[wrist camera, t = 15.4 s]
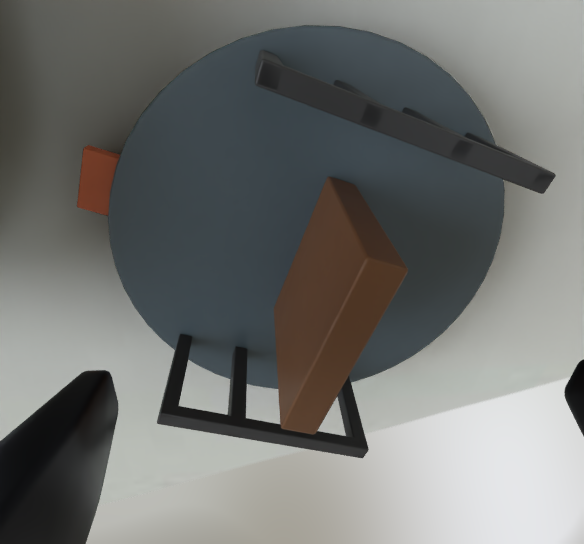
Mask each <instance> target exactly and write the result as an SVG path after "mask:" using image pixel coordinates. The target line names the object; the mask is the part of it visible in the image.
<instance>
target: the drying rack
mask: <svg viewBox="0 0 584 544" xmlns="http://www.w3.org/2000/svg"><path fill="white" fill-rule="evenodd" d="M555 176H556V175H555V174H554V173H552V172H550V171H548V170H546V169H544V168H542V167H540V166H538V165H536V164H534V163H532V162H530V161H528V160H526V159H524V158H522V157H520V156H518V155H515V154H513V153H511V152H509V151H507V150H505V149H503V148H501V147H499V146H497V145H496V144H495V141H494V139H493V136H492V134H491V132H490V130H489V128H488V125H487V123H486V121H485V119H484V117H483V115H482V114H481V112H480V111H479V109H478V108H477V106H476V105H475V103H474V102H473V100H472V99H471V97H470V96H469V95H468V94H467V92H466V91H465V90H464V89H463V88H462V87H461V86H460V85H459V84H458V83H457V82H456V81H455V80H454V78H453V77H452V76H451V75H450V74H448V73H447V72H446V71H445V70H443V69H442V68H441V67H439V66H438V65H437V64H436V63H434V62H433V61H432V60H430V59H429V58H428V57H426V56H424V55H423V54H421V53H419V52H417V51H415V50H413V49H412V48H410V47H408V46H406V45H404V44H402V43H400V42H398V41H395V40H392V39H389V38H386V37H383V36H381V35H378V34H375V33H372V32H368V31H362V30H357V29H351V28H346V27H340V26H309V25H304V26H296V27H288V28H280V29H273V30H269V31H265V32H262V33H258V34H255V35H251V36H248V37H245V38H241V39H239V40H237V41H235V42H233V43H230V44H228V45H226V46H224V47H222V48H219V49H217V50H215V51H213V52H211V53H209V54H208V55H206V56H205V57H203V58H202V59H200V60H199V61H197V62H196V63H194V64H193V65H191V66H190V67H188V68H187V69H185V70H184V71H183V72H181V73H180V74H179V75H178V76H177V77H176V78H175V79H174V80H173V81H171V82H170V83H169V84H168V85H167V86H166V87H165V88H164V89H163V90H161V91H160V92H159V94H158V95H157V96H156V97H155V99H154V100H153V101H152V102H151V103H150V105H149V106H148V107H147V108H146V110H145V111H144V112H143V113H142V114H141V116H140V118H139V119H138V121H137V123H136V124H135V126H134V128H133V130H132V131H131V133H130V135H129V136H128V138H127V140H126V142H125V144H124V147H123V150H122V152H121V155H119V154H116V153H113V152H109V151H106V150H103V149H100V148H97V147H93V146H90V145H87V146H86V147H84V149H83V156H82V166H81V175H80V184H79V193H78V202H77V207H78V208H82V209H85V210H89V211H93V212H96V213H100V214H103V215H107V216H108V223H109V236H110V244H111V249H112V253H113V257H114V262H115V266H116V269H117V271H118V274H119V276H120V279H121V282H122V284H123V287H124V289H125V291H126V292H127V294H128V296H129V298H130V300H131V301H132V303H133V305H134V307H135V308H136V309H137V311H138V312H139V314H140V315H141V316H142V318H143V319H144V320H145V322H146V323H147V324H148V325H149V326H150V327H151V328H152V329H153V331H154V332H155V333H156V334H157V335H158V336H159V337H160V338H161V339H162V340H163V341H165V342H166V343H167V344H168V345H169V346H171V347H172V348H173V349H174V350H175V353H174V357H173V361H172V365H171V369H170V373H169V377H168V381H167V385H166V388H165V392H164V396H163V400H162V404H161V408H160V412H159V416H158V420H157V423H158V424H162V425H168V426H174V427H180V428H186V429H192V430H198V431H204V432H210V433H215V434H221V435H227V436H233V437H239V438H245V439H251V440H257V441H263V442H269V443H275V444H281V445H287V446H293V447H299V448H305V449H311V450H316V451H322V452H328V453H334V454H340V455H346V456H353V457H358V458H363V457H364V456H365V454H366V453H367V452H368V446H367V442H366V438H365V435H364V431H363V427H362V423H361V419H360V416H359V412H358V408H357V404H356V401H355V397H354V393H353V389H352V385H351V382H355V381H358V380H361V379H364V378H367V377H370V376H373V375H375V374H378V373H380V372H382V371H384V370H387V369H389V368H391V367H394V366H395V365H397V364H399V363H401V362H402V361H404V360H406V359H408V358H410V357H411V356H413V355H414V354H416V353H417V352H419V351H420V350H422V349H423V348H424V347H426V346H427V345H429V344H430V343H431V342H432V341H433V340H435V339H436V338H437V337H438V336H439V335H441V334H442V333H443V332H444V331H445V330H446V329H447V328H448V327H449V326H450V325H451V324H452V323H453V322H454V321H455V320H456V319H457V318H458V317H459V315H460V314H461V313H462V312H463V310H464V309H465V308H466V306H467V305H468V304H469V302H470V301H471V300H472V299H473V297H474V295H475V294H476V292H477V290H478V289H479V287H480V285H481V284H482V282H483V280H484V279H485V276H486V274H487V272H488V270H489V267H490V265H491V263H492V261H493V258H494V255H495V252H496V249H497V245H498V242H499V239H500V234H501V228H502V222H503V217H504V191H505V190H504V182H503V179H504V180H506V181H509V182H512V183H514V184H517V185H519V186H522V187H525V188H527V189H530V190H533V191H535V192H538V193H541V194H543V193H544V192H545V191H546V189H547V188H548V186H549V185H550V183H551V182H552V181H553V179H554V178H555ZM188 359H189V360H190V361H192V362H194V363H195V364H197V365H199V366H201V367H203V368H205V369H207V370H209V371H211V372H213V373H215V374H218V375H221V376H223V377H226V378H229V379H231V380H230V393H229V406H228V415H225V414H219V413H214V412H208V411H203V410H197V409H191V408H186V407H180V406H178V405H179V401H180V396H181V391H182V386H183V381H184V376H185V372H186V367H187V362H188ZM247 384H250V385H254V386H260V387H267V388H274V389H278V390H279V407H280V423H281V425H280V424H275V423H269V422H264V421H258V420H252V419H247V418H246V387H247ZM337 396H338V401H339V405H340V410H341V415H342V419H343V424H344V428H345V433H346V436H341V435H336V434H330V433H325V432H319V431H317V430H318V429H319V427H320V425H321V423H322V422H323V420H324V418H325V416H326V415H327V413H328V411H329V409H330V408H331V406H332V404H333V402H334V401H335V399H336V397H337Z"/></svg>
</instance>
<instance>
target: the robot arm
mask: <svg viewBox="0 0 584 544" xmlns="http://www.w3.org/2000/svg"><path fill="white" fill-rule="evenodd" d="M565 398H566V401H567V403H568V405H569V408H570V410H571V412H572V414H573V416H574V418H575V420H576V422H577V424H578V426H579V428H580V430H581V432H582V434H583V436H584V360H582V361H580V362H579V363H578V365H577V367H576V369H575V370H574V372H573V374H572V376H571V378H570V380H569V382H568V384H567V385H566V387H565ZM117 415H118V400H117V396H116V392H115V388H114V384H113V380H112V377H111V374H110V373H109V372H108V371H106V370H97V371H85V372H83V373H81V374H80V375H79V376H77V377H76V378H75V379H74V380H73V381H71V382H70V383H69V384H68V385H67V386H66V387H64V388H63V389H62V390H61V391H60V392H58V393H57V394H56V395H55V396H54V397H52V398H51V399H50V400H49V401H48V402H47V403H45V404H44V405H43V406H42V407H41V408H39V409H38V410H37V411H36V412H35V413H33V414H32V415H31V416H30V417H29V418H27V419H26V420H25V421H24V422H23V423H22V424H20V425H19V426H18V427H17V428H16V429H14V430H13V431H12V432H11V433H10V434H8V435H7V436H6V437H5V438H4V439H2V440H1V441H0V544H86V541H87V537H88V535H89V531H90V528H91V525H92V522H93V519H94V516H95V513H96V509H97V506H98V503H99V499H100V495H101V491H102V487H103V482H104V477H105V472H106V468H107V463H108V458H109V454H110V449H111V444H112V439H113V435H114V430H115V425H116V420H117Z"/></svg>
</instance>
